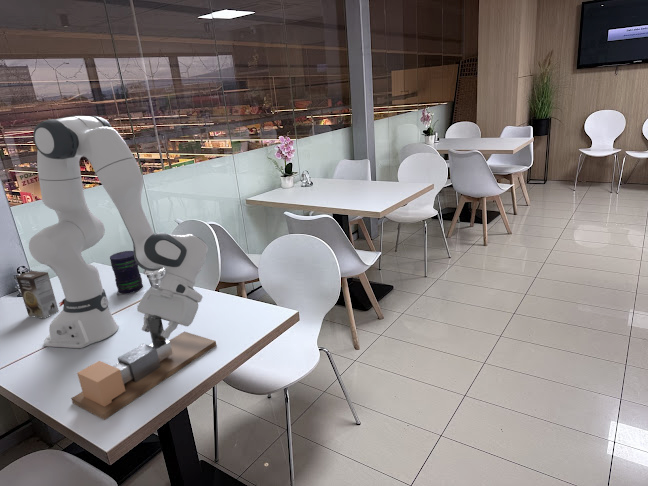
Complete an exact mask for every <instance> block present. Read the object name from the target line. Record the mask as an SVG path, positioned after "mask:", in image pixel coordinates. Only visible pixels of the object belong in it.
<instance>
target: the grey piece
mask: <svg viewBox="0 0 648 486" xmlns="http://www.w3.org/2000/svg"><path fill="white" fill-rule="evenodd" d="M162 320H163V319H161V317H160V316H156V315H153V316H150V317H148V318H147V321H148V326H149V330H150V332H149V333H150V338H151V342H152V343H150V344H149V345H148V346H151V347H154V348H156V349H157V353H158V358H159V362H160V361H162V360H163V359H165V358H167V357H168V356H170V355H172V354H173V353H172V348H171V344H170V341H169V340H168V339H167V338H164V337H161V333H162V331H163V330H165V329H164V325H163V322H162ZM112 366H113V367H116V368H118V369H120V372H121V375H122V379H123V383H124V384H125V383H126V382H128V381H130V380H131V379H133V375H132V371H131V367H130V365H129V364H127V363H124V362H122V361H121V362H117V363H115V364H114V365H112Z"/></svg>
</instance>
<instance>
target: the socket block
mask: <svg viewBox="0 0 648 486" xmlns="http://www.w3.org/2000/svg"><path fill="white" fill-rule="evenodd" d="M113 366H114V365H111V364H108V363H106V362H104V361H101V360H98V361H96V362H94V363H93V364H92V363H91V365H89V366H87V367H85V368H84V369H81V370H80V371H78V372H77V373H76V374H77V378H78V381H79V384H80V387H81V392H83V395H84V397H86V398H88V399H90V400H92V401H94V402H96V403H98V404H100V405H102V406H104V407H105V406H106V405H108V404H110V403H111V402H112V399H114V398H115V397H117V396H118V395H120V394H122V393H123V392H125V387H124V383H123V379H122V375H121V372H120V369H118V368H116V367H113Z"/></svg>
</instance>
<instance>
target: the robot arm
mask: <svg viewBox="0 0 648 486" xmlns="http://www.w3.org/2000/svg"><path fill="white" fill-rule="evenodd" d="M34 127H35V128H34V129H33V133H32V135H33V143H34V145H35V147H36V149H37V152H36V153H37V156H36V157H37V159H36V161H37V163H36V164H37V165H36V167H37V175H38V182H39V188H40V195H41V200H42V204H44V206H46V208H48V209H51V210H53V211H54V212H55V213H56V216H57V217H58V222H57V223H54V224H51V225H50V226H47V227H45V228H43V229H40V230H39V231H38V232H37V233H35V234H34V235H33V236H32V237H31V238H30V239H29V242H28V250H29V253H30V255H31V257H32V258H33V259H34V260H35V261H36V262H38V263H39V264H42V265H45V266H47V267H49V268H50V269H51V270H52V271H53V272H54V273H55V274H56V276H57V278H58V280H59V282H60V285H61V286H60V287H61V289H62V291H63V295H64V298H63V299H62V300H61V301H60V302H59V303H58V305H59V306H58V308H60V307H62V306H63V307H62V310H61V311H59V312H58V313H59V314H57V316H55V317H54V319H53V320H52V321H51V323H50V324H49V330H48V331H49V334H48V335H47V336H46V338H45V339H44V340H43V346H44V347H51V348H52V347H53V348H55V347H56V348H71V349H73V348H74V349H83V348H85V347H88V346H89V345H91V344H95V343H97V342H100V341H102V340H105V339H108V338H109V337H111V336H112V335H114V334H115V333H116V332H117V331H118V330H119V325H118V323H117V322H116V321H115V319H114V317H113V315H112V313H111V311H110V307H109V302H108V296H107V294H106V290H105V289H104V288H103V284H102V280H101V276H100V273H99V269H98V268H97V267H96V266H95V265H94V264H93V265H92V264H91V263H90V264H89V263H87V262H86V261H85V260H84V258H83V255H82V253H83V252H84V251H86V250H88V249H90V248H92V247H94V246H96V245H97V244H98V243H99V242H100V241H101V240H102V239H103V238H104V236H105V233H106V229H105V226H104V223H103V222H102V220H101V219H100V217H98V216H96V215H94V214H93V213H92V212H91V210H90V208H89V206H88V204H87V202H86V199H85V193H84V187H83V186H84V185H83V180H82V174H81V167H80V161H81V158H82V157H84V158H87V160H88V161H89V163H90V164H91V167H92V169H93V171H94V173H95V175H96V177H97V179H98V180H99V182H100V184H101V185H102V187H103V188H104V190H105V192H106V193H107V195H108V196H109V197H110V199H111V202H113V204H114V206H115V208H116V209H117V212H118V213H119V215H120V217H121V219H122V221H123V224H124V225H125V228H126V230H127V232H128V234H129V236H130V238H131V242H132V245H133V247H132V248H133V251H134V259H135V261H136V263H137V264H138V267H139V268H141V269H142V270H143V271H144V270H147V271H156V270H159V269H161V268H164V269H166V270H165V275H164V277H163V279H162V281H161V283H160V285H158V284H155V285H154V286H152V287H151V286H150V287H149V289H147V290H146V292H145V293H144V294H143V296H142V298H141V299H140V301H139V303H138V305H137V308H136V309H137V312H139V313H141V314H143V315H144V317H143V324H142V327H141V331H143V332H146V333H150V330H149V326H148V321H147V318H148V317H150V316H153V315H156V316H160V317H161V320H163V321H166V322H168V323H167V325H168V326H167V327H166V328H165V329H164V330H163V331H162V333H161V337H164V338H166V340H168V339H169V338H170V335H171V334H172V333H173V332H174V331H175V330H176V329H177V328H178V326H179V325H181V326H183V327H189V326H191V325H192V323H193V322H194V319H195V317H196V316H197V315H196V314H197V312H198V309H199V303H201V302H202V299H203V295H202V294H201V293H200V292H198V291H197V290H196V289H194V287H195V284H196V279H197V277H198V275H199V274H200V273H201V271H202V268H203V266H204V264H205V261H206V260H207V257H208V256H207V255H208V252H209V251H208V250H209V248H208V245H207V244H206V242H205V241H204V240H203V239H202V238H201V237H198V236H197V235H194V234H193V233H186V234H169V233H166V232H154V231H153V229H152V227H151V224H150V223H149V219H148V218H147V216H146V214H145V212H144V209H143V205H142V193H143V187H144V178H143V175H142V174H143V173H142V170H141V168H140V166H139V164H138V162H137V160H136V157H135V155H134V154H133V153H132V151H131V149H130V148H129V145H128V144H127V142H126V141H125V139H123V137H122V136H121V134H120V133H119V132H118V131H117V130H116V129H115V128H113V127H112V125H111V124H110V122H109V121H108V120H107V119H105V118H103V117H100V116H96V115H72V116H71V115H70V116H67V117H66V116H65V117H60V118H54V119H53V118H50V119H46V120H43V121H41V122H39V123H38V124H37V125H35V126H34ZM154 287H155V288H154Z"/></svg>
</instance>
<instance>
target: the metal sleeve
mask: <svg viewBox="0 0 648 486" xmlns="http://www.w3.org/2000/svg"><path fill="white" fill-rule="evenodd" d="M117 361H118V362H117V363H119V362H121V361H122V362H124V363H127V364H129V365H130V367H131V371H132V375H133V379H131V381H133V382H135V383H136V382H138V381H139V380H141V379H142V378H144V377H146V376H147V375H149V374H150V373H152V372H153V371H155V370H157V369H158V368H160V367H161V366H160V362H159V358H158V353H157V349H156V348H154V347H151V346H149V345H148V344H146V343H142V344H140V345H138V346H136V347H135V348H132V349H131V350H129V351H127V352H126V353H124V354H123V355H121V356H118V357H117Z"/></svg>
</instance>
